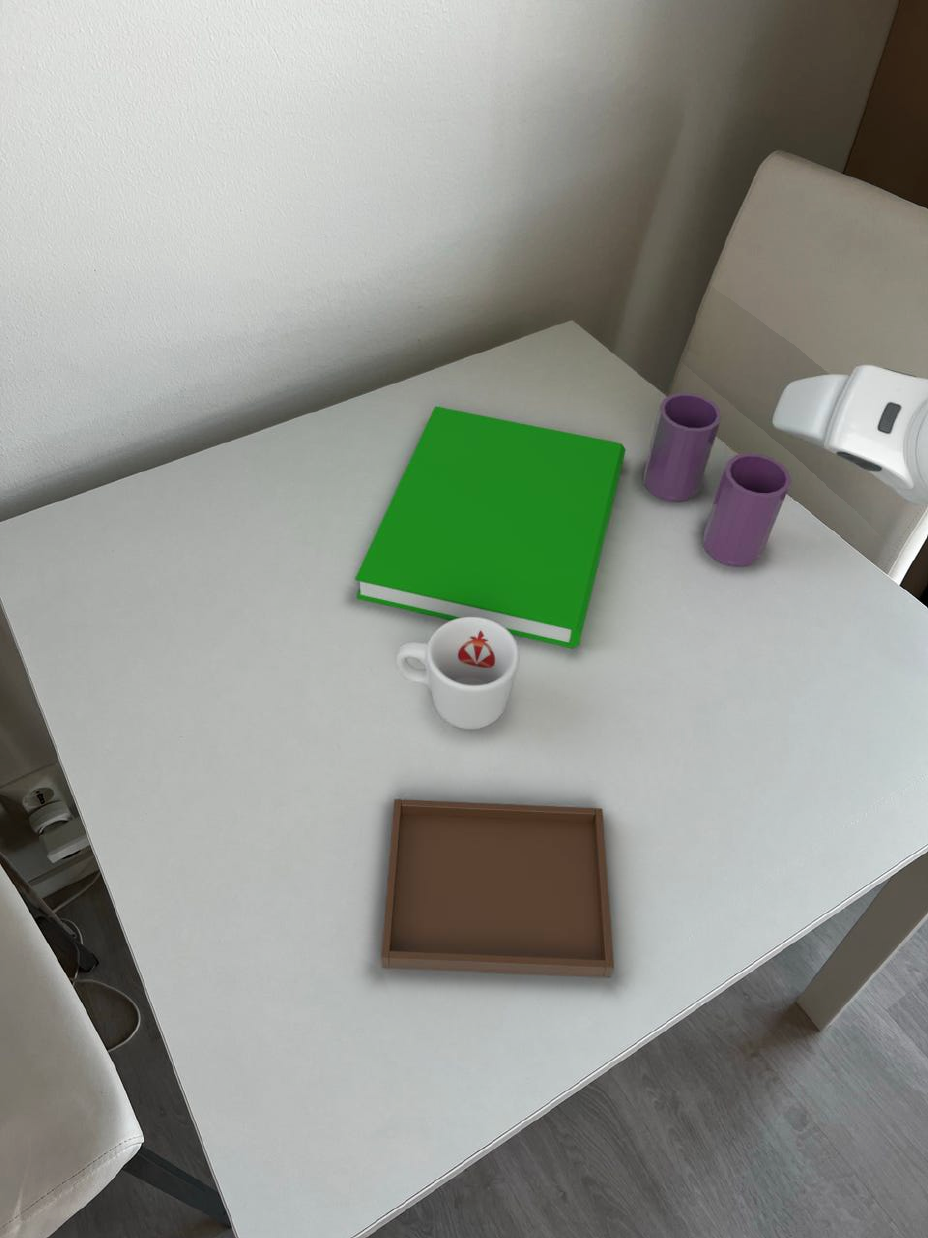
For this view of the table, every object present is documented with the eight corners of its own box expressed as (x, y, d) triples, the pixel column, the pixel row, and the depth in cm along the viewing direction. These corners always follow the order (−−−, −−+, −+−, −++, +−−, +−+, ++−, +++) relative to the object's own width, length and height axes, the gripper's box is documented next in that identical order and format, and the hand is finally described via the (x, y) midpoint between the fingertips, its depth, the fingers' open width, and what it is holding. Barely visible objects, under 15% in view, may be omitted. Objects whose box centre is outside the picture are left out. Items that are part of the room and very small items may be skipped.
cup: (385, 723, 85) (383, 670, 79) (409, 655, 90) (409, 600, 84) (502, 750, 84) (509, 698, 78) (520, 680, 89) (528, 625, 83)
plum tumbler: (756, 525, 103) (784, 454, 96) (767, 568, 99) (796, 498, 92) (698, 522, 103) (721, 451, 96) (706, 565, 99) (730, 494, 92)
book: (356, 598, 94) (355, 578, 92) (434, 426, 112) (435, 406, 110) (577, 649, 91) (582, 629, 89) (622, 464, 109) (626, 444, 107)
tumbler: (695, 465, 109) (716, 394, 102) (702, 503, 105) (725, 432, 98) (640, 462, 109) (657, 391, 102) (645, 500, 105) (663, 429, 98)
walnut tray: (598, 819, 80) (602, 808, 78) (609, 978, 71) (614, 968, 70) (394, 810, 80) (394, 798, 78) (381, 968, 71) (380, 958, 70)
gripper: (1084, 456, 70) (966, 456, 84) (846, 354, 67) (763, 372, 81) (1049, 535, 71) (937, 523, 85) (812, 439, 68) (735, 442, 81)
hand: (851, 448), depth 83 cm, fingers open, 8 cm apart
